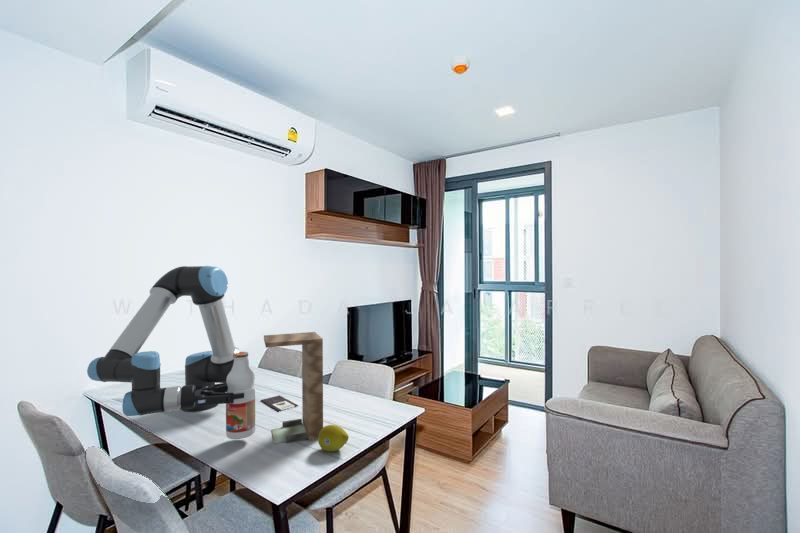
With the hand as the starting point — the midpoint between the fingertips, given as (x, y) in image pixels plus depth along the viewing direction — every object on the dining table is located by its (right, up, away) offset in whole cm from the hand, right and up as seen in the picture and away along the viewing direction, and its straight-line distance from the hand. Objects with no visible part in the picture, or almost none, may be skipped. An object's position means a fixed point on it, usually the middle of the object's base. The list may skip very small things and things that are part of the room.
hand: (254, 388), depth 131 cm
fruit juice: (-4, -15, -2) cm, 16 cm away
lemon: (+29, -18, -8) cm, 35 cm away
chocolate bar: (-3, -19, +35) cm, 40 cm away
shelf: (+11, -18, +4) cm, 21 cm away
